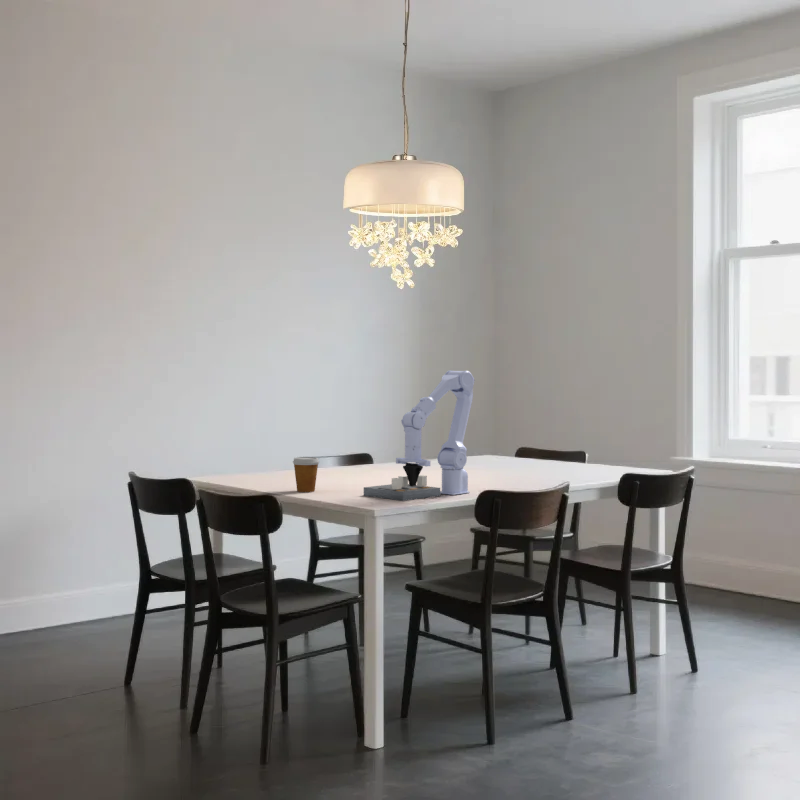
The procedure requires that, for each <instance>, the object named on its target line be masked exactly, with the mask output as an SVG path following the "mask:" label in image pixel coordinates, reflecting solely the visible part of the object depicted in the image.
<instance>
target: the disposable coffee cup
mask: <svg viewBox="0 0 800 800" xmlns="http://www.w3.org/2000/svg"><path fill="white" fill-rule="evenodd" d="M292 463H293V467H294V475H295V476H294V477H295V483H296V491H297V492H299V493H314V492H315V491H316V482H317V476H318V475H317V474H318V465H319V463H320V461H319V458H318V457H313V456H312V457H310V456H298V457H294V458H293V461H292Z"/></svg>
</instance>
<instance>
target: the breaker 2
mask: <svg viewBox="0 0 800 800" xmlns="http://www.w3.org/2000/svg"><path fill="white" fill-rule="evenodd" d="M427 477H428V476H427V475H424V474H422V475H421V474H419V476H418V480H417V484H416V485H417V486H428V484H427V483H428V479H427Z"/></svg>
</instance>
